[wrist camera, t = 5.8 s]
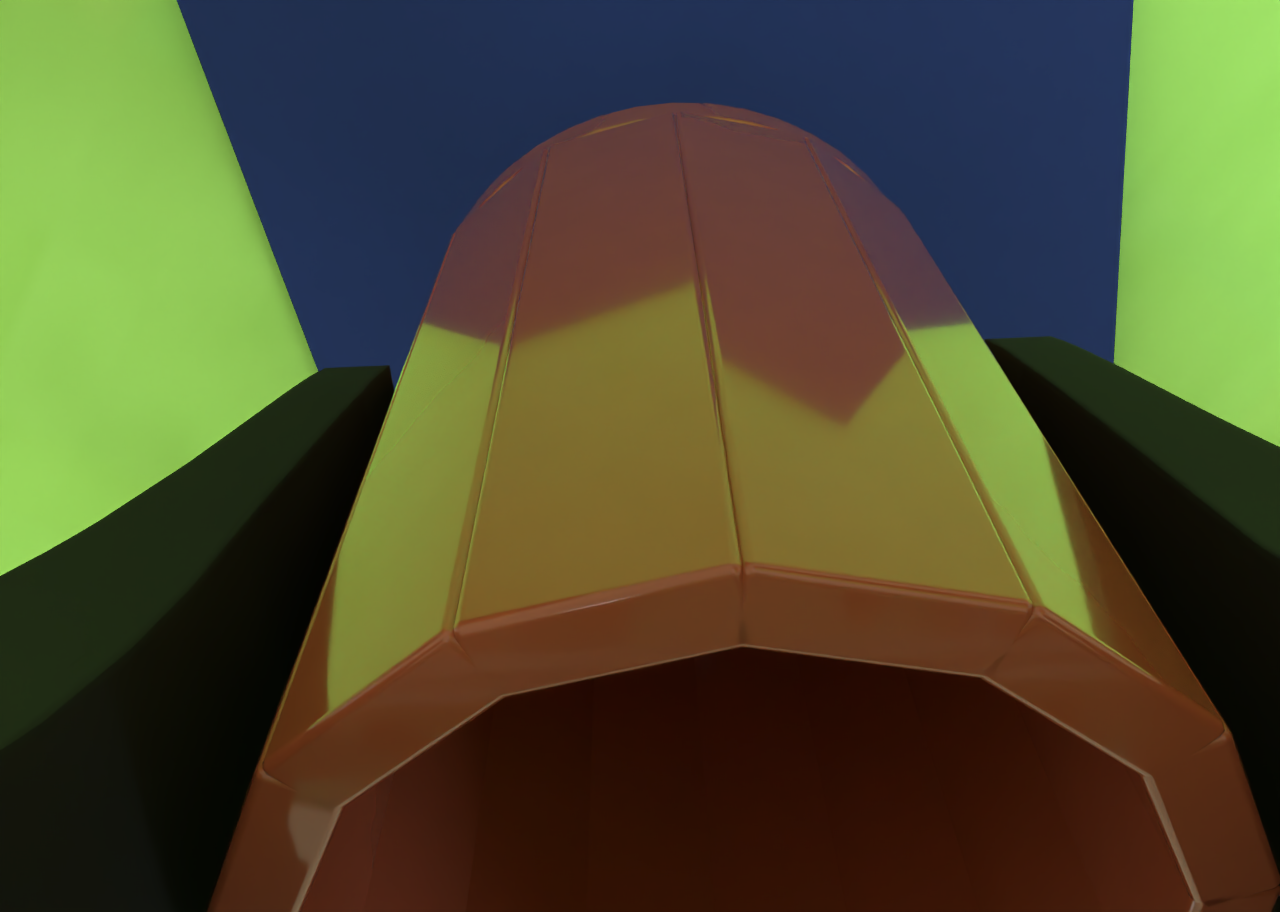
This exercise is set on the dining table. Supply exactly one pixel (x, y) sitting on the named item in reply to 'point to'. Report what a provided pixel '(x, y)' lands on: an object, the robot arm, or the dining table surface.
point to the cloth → (675, 73)
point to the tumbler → (727, 586)
